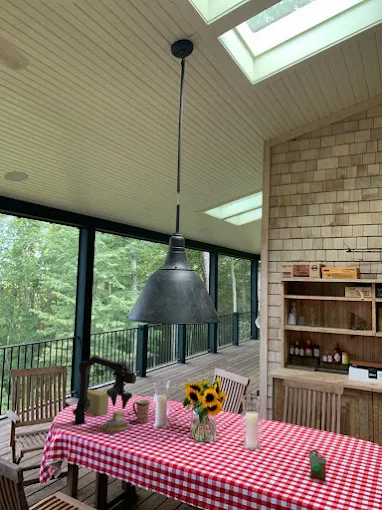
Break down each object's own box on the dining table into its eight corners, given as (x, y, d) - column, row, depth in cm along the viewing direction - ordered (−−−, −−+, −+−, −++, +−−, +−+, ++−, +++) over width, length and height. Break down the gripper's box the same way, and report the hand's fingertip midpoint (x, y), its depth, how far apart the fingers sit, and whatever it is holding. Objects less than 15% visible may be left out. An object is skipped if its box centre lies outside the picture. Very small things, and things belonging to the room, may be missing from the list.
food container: (304, 469, 200) (304, 448, 201) (316, 469, 200) (316, 448, 201) (314, 481, 188) (313, 459, 188) (326, 481, 188) (326, 459, 189)
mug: (151, 421, 268) (152, 400, 269) (143, 424, 260) (143, 403, 262) (137, 417, 275) (138, 397, 276) (128, 421, 267) (129, 400, 269)
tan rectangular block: (112, 419, 254) (112, 412, 254) (119, 417, 258) (119, 410, 258) (116, 421, 251) (116, 413, 252) (123, 419, 255) (123, 411, 256)
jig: (97, 429, 251) (97, 424, 251) (117, 423, 263) (117, 418, 263) (111, 434, 242) (112, 429, 242) (131, 428, 254) (131, 423, 254)
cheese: (76, 411, 287) (77, 389, 288) (86, 407, 295) (87, 387, 296) (98, 416, 275) (99, 394, 276) (108, 413, 283) (109, 391, 285)
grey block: (106, 428, 250) (106, 420, 251) (119, 424, 258) (119, 416, 258) (110, 430, 247) (110, 421, 248) (123, 426, 255) (123, 418, 255)
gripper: (100, 382, 257) (99, 407, 255) (119, 387, 245) (118, 413, 243) (114, 379, 265) (113, 403, 264) (132, 384, 253) (132, 409, 252)
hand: (118, 407), depth 255 cm, fingers open, 9 cm apart
